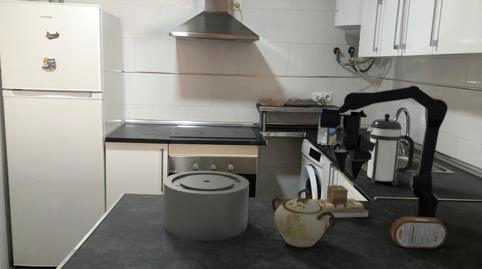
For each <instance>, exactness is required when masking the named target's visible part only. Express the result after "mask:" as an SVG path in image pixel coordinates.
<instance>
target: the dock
mask: <svg viewBox="0 0 482 269" xmlns="http://www.w3.org/2000/svg"><path fill="white" fill-rule="evenodd" d="M328 212H332V213H333V215H334V216H335V219H336V218H366V217H369V210H366V209H364V210H360V211H328ZM328 217H329V219H330V218H331V217H330V216H329V215H328ZM331 219H332V218H331Z"/></svg>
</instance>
